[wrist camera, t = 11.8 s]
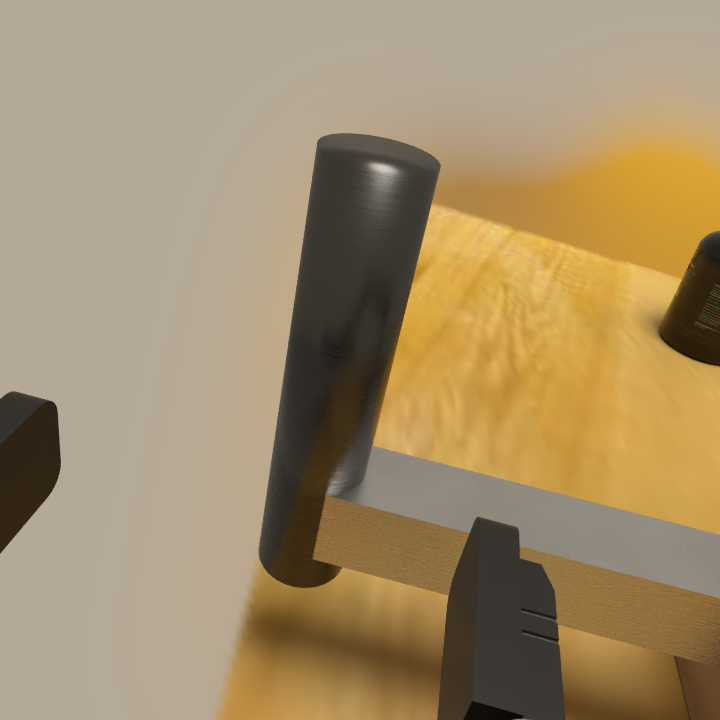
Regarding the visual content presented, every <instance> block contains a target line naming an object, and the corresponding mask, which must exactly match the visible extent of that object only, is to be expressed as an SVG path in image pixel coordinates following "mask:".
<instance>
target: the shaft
mask: <svg viewBox="0 0 720 720" xmlns="http://www.w3.org/2000/svg"><path fill="white" fill-rule="evenodd" d="M439 171H440V163H439V161H438V160H437V159H435V157H433V156H432V155H430V154H428V153H427V152H425V151H423V150H421V149H418V148H416V147H414V146H411V145H408V144H405V143H402V142H399V141H395V140H391V139H387V138H382V137H377V136H371V135H362V134H348V133H341V134H331V135H327V136H324V137H321V138H320V139H319V140H318V142H317V149H316V156H315V163H314V169H313V176H312V184H311V191H310V198H309V204H308V212H307V218H306V225H305V232H304V239H303V246H302V253H301V260H300V267H299V274H298V281H297V287H296V294H295V301H294V308H293V315H292V322H291V329H290V336H289V343H288V350H287V357H286V364H285V371H284V377H283V385H282V392H281V399H280V406H279V413H278V419H277V426H276V433H275V440H274V447H273V454H272V461H271V468H270V475H269V481H268V489H267V496H266V502H265V509H264V516H263V523H262V530H261V537H260V544H259V558H260V561H261V563H262V565H263V567H264V568H265V570H266V571H267V572H268V573H269V574H270V575H271V576H272V577H273V578H275V579H276V580H278V581H280V582H282V583H284V584H286V585H289V586H293V587H299V588H311V587H317V586H320V585H323V584H326V583H327V582H329V581H331V580H332V579H334V578H335V577H336V576H337V575H338V573H339V572H340V571H341V569H342V567H344V568H348V569H351V570H355V571H359V572H363V573H366V574H370V575H374V576H378V577H381V578H385V579H389V580H393V581H396V582H400V583H404V584H408V585H411V586H415V587H419V588H423V589H426V590H430V591H434V592H438V593H441V594H445V595H449V592H450V587H451V583H452V579H453V576H454V573H455V570H456V567H457V565H458V562H459V560H460V557H461V554H462V552H463V549H464V547H465V544H466V541H467V539H468V536H469V533H470V531H471V528H472V526H473V523H474V521H475V519H476V518H477V517H482V518H485V519H489V520H493V521H497V522H500V523H504V524H508V525H512V526H515V527H518V529H519V540H520V559H524V560H528V561H532V562H535V563H539V564H542V566H543V568H544V570H545V572H546V574H547V576H548V578H549V580H550V582H551V584H552V586H553V588H554V590H555V599H556V611H557V619H556V622H557V624H558V625H561V626H565V627H569V628H573V629H576V630H580V631H584V632H588V633H591V634H595V635H599V636H603V637H606V638H610V639H614V640H618V641H621V642H625V643H629V644H633V645H636V646H640V647H644V648H648V649H651V650H655V651H659V652H663V653H666V654H670V655H674V656H678V657H681V658H685V659H689V660H693V661H696V662H700V663H704V664H708V665H711V666H715V667H719V668H720V535H718V534H714V533H710V532H706V531H702V530H699V529H695V528H691V527H687V526H683V525H679V524H675V523H671V522H667V521H663V520H660V519H656V518H652V517H648V516H644V515H640V514H636V513H632V512H628V511H624V510H621V509H617V508H613V507H609V506H605V505H601V504H597V503H593V502H589V501H585V500H581V499H578V498H574V497H570V496H566V495H562V494H558V493H554V492H550V491H546V490H542V489H539V488H535V487H531V486H527V485H523V484H519V483H515V482H511V481H507V480H503V479H499V478H496V477H492V476H488V475H484V474H480V473H476V472H472V471H468V470H464V469H460V468H457V467H453V466H449V465H445V464H441V463H437V462H433V461H429V460H425V459H421V458H418V457H414V456H410V455H406V454H402V453H398V452H394V451H390V450H386V449H382V448H378V447H375V446H372V445H373V441H374V437H375V433H376V429H377V425H378V421H379V417H380V412H381V408H382V404H383V400H384V396H385V392H386V388H387V384H388V380H389V376H390V372H391V368H392V363H393V359H394V355H395V351H396V347H397V343H398V339H399V335H400V331H401V327H402V323H403V318H404V314H405V310H406V306H407V302H408V298H409V294H410V290H411V286H412V282H413V278H414V273H415V269H416V265H417V261H418V257H419V253H420V249H421V245H422V241H423V237H424V233H425V228H426V224H427V220H428V216H429V212H430V208H431V204H432V200H433V196H434V192H435V187H436V183H437V179H438V175H439Z"/></svg>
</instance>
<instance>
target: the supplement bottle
mask: <svg viewBox="0 0 720 720" xmlns="http://www.w3.org/2000/svg"><path fill="white" fill-rule="evenodd" d="M660 331H661V334H662V336H663V338H664V339H665V341H666V342H667V343H668V344H669V345H671V346H672V347H673V348H675V349H676V350H678V351H679V352H681V353H683V354H685V355H687V356H689V357H691V358H694V359H696V360H699V361H702V362H706V363H710V364H716V365H720V231H716V232H713V233H710V234H708V235H707V236H705V237H704V238H703V239H702V240H701V242H700V243H699V246H698V247H697V249H696V251H695V254H694V255H693V258H692V260H691V262H690V264H689V266H688V268H687V270H686V272H685V274H684V277H683V278H682V280H681V283H680V285H679V287H678V289H677V291H676V293H675V295H674V297H673V299H672V301H671V303H670V306H669V308H668V310H667V312H666V314H665V316H664V318H663V321H662V323H661V326H660Z"/></svg>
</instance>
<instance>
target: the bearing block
mask: <svg viewBox="0 0 720 720" xmlns="http://www.w3.org/2000/svg"><path fill="white" fill-rule="evenodd" d="M675 659H676V663H677V667H678V671H679V676H680V680H681V684H682V688H683V692H684V696H685V700H686V704H687V708H688V712H689V716H690V720H720V668H719V667H715V666H711V665H708V664H704V663H700V662H696V661H693V660H689V659H685V658H681V657H678V656H675Z"/></svg>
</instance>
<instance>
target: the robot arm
mask: <svg viewBox="0 0 720 720" xmlns="http://www.w3.org/2000/svg"><path fill="white" fill-rule="evenodd" d="M60 467H61V458H60V442H59V428H58V412H57V407H56V405H55V403H54V402H52V401H49V400H45V399H41V398H38V397H34V396H30V395H26V394H23V393H19V392H9V393H7V394H6V395H5V396H3V397H2V398H1V399H0V553H1V552H2V551H3V550H4V548H5V547H6V546H7V545H8V544H9V543H10V541H11V540H12V539H13V538H14V537H15V535H16V534H17V533H18V532H19V531H20V529H21V528H22V527H23V525H25V523H26V522H27V521H28V520H29V519H30V518H31V516H32V515H33V514H34V513H35V512H36V510H37V509H38V508H39V507H40V506H41V504H42V503H43V502H44V501H45V500H46V499H47V497H48V496H49V495H50V493H51V492H52V490H53V488H54V486H55V484H56V482H57V479H58V476H59V472H60ZM556 619H557V611H556V599H555V590H554V588H553V586H552V584H551V582H550V580H549V578H548V576H547V574H546V572H545V570H544V568H543V566H542V564H539V563H535V562H532V561H528V560H524V559H520V540H519V529H518V527H515V526H512V525H508V524H504V523H500V522H497V521H493V520H489V519H485V518H482V517H477V518H476V519H475V521H474V523H473V526H472V528H471V531H470V533H469V536H468V539H467V541H466V544H465V547H464V549H463V552H462V554H461V557H460V560H459V562H458V565H457V567H456V570H455V573H454V576H453V579H452V583H451V587H450V592H449V597H448V604H447V614H446V625H445V637H444V648H443V660H442V671H441V683H440V694H439V706H438V717H437V720H565V711H564V698H563V686H562V673H561V661H560V649H559V645H558V640H559V636H558V624H557V622H556Z"/></svg>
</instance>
